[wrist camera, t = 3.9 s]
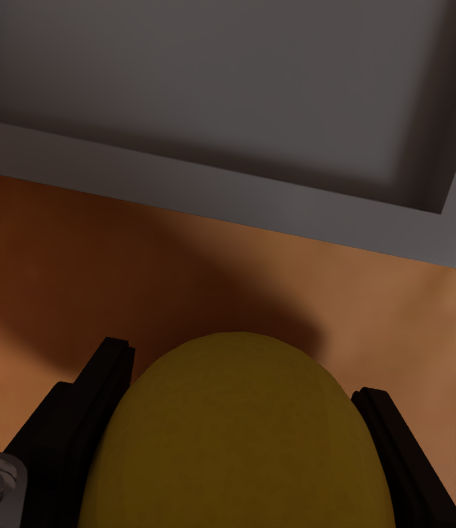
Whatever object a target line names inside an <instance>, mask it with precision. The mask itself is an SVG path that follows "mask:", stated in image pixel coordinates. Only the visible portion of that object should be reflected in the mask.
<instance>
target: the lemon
mask: <svg viewBox="0 0 456 528" xmlns="http://www.w3.org/2000/svg"><path fill="white" fill-rule="evenodd" d="M77 528H396V527H395V519H394V511H393V506H392V501H391V496H390V492H389V488H388V484H387V481H386V477H385V474H384V471H383V468H382V465H381V463H380V460H379V457H378V454H377V451H376V448H375V445H374V443H373V440H372V437H371V435H370V432H369V430H368V428H367V426H366V424H365V422H364V420H363V418H362V416H361V415H360V413H359V411H358V410H357V408H356V407H355V405H354V404H353V403H352V401H351V400H350V399H349V397H348V396H347V394H346V393H345V392H344V390H343V389H342V388H341V386H340V385H339V383H338V382H337V381H336V380H335V378H334V377H333V376H332V375H331V374H330V373H329V372H328V371H327V370H326V369H324V368H323V367H322V366H321V365H319V364H318V363H317V362H316V361H314V360H313V359H312V358H311V357H309V356H308V355H307V354H305V353H304V352H303V351H302V350H300V349H298V348H296V347H293V346H291V345H289V344H287V343H284V342H282V341H280V340H278V339H276V338H273V337H271V336H266V335H261V334H255V333H250V332H245V331H240V332H219V333H213V334H210V335H206V336H203V337H199V338H196V339H192V340H190V341H187V342H185V343H183V344H182V345H180V346H178V347H176V348H175V349H173V350H171V351H169V352H168V353H166V354H164V355H162V356H161V357H160V358H158V359H157V360H156V361H155V362H154V363H153V364H152V365H151V366H150V367H149V368H148V369H147V370H146V371H145V372H144V373H143V374H142V375H141V376H140V377H139V378H138V379H137V380H136V381H135V382H134V383H133V384H132V385H131V386H130V387H129V389H128V390H127V391H126V393H125V394H124V396H123V397H122V399H121V400H120V402H119V404H118V405H117V407H116V409H115V411H114V413H113V415H112V416H111V418H110V420H109V422H108V424H107V425H106V427H105V429H104V431H103V433H102V435H101V437H100V439H99V441H98V444H97V446H96V449H95V451H94V454H93V457H92V460H91V464H90V467H89V471H88V475H87V480H86V485H85V489H84V494H83V499H82V504H81V509H80V514H79V518H78V525H77Z"/></svg>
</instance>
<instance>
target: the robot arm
mask: <svg viewBox="0 0 456 528" xmlns="http://www.w3.org/2000/svg"><path fill="white" fill-rule="evenodd" d="M128 346H129V342H128V341H127V340H122V339H116V338H111V337H106V338H105V339H104V341H103V342H102V343H101V345H100V346H99V348H98V349H97V350H96V352H95V353H94V355H93V356H92V358H91V359H90V360H89V362H88V363H87V365H86V366H85V368H84V369H83V370H82V372H81V373H80V375H79V376H78V378H77V379H76V380H75V382H74V383H67V382H62V381H60V382H57V383H56V384H55V385H54V387H53V388H52V389H51V391H50V392H49V393H48V394H47V396H46V397H45V398H44V400H43V401H42V402H41V404H40V405H39V406H38V407H37V409H36V410H35V411H34V413H33V414H32V415H31V416H30V418H29V419H28V420H27V422H26V423H25V424H24V425H23V427H22V428H21V429H20V431H19V432H18V433H17V434H16V436H15V437H14V438H13V440H12V441H11V442H10V443H9V445H8V446H7V447H6V449H5V450H4V451H3V452H0V528H77V525H78V518H79V514H80V509H81V504H82V499H83V494H84V489H85V485H86V480H87V475H88V471H89V467H90V464H91V460H92V457H93V454H94V451H95V449H96V446H97V444H98V441H99V439H100V437H101V435H102V433H103V431H104V429H105V427H106V425H107V424H108V422H109V420H110V418H111V416H112V415H113V413H114V411H115V409H116V407H117V405H118V404H119V402H120V400H121V399H122V397H123V396H124V394H125V393H126V391H127V390H128V389H129V387H130V382H131V375H132V369H133V362H134V356H135V348H133V347H128ZM351 401H352V403H353V404H354V405H355V407H356V408H357V410H358V411H359V413H360V415H361V416H362V418H363V420H364V422H365V424H366V426H367V428H368V430H369V432H370V435H371V437H372V440H373V443H374V445H375V448H376V451H377V454H378V457H379V460H380V463H381V465H382V468H383V471H384V474H385V477H386V481H387V484H388V488H389V492H390V496H391V501H392V506H393V511H394V519H395V527H396V528H456V506H455V504H454V502H453V501H452V499H451V497H450V496H449V494H448V492H447V491H446V489H445V487H444V486H443V484H442V482H441V481H440V479H439V477H438V476H437V474H436V472H435V471H434V469H433V467H432V466H431V464H430V462H429V461H428V459H427V457H426V456H425V454H424V452H423V451H422V449H421V447H420V446H419V444H418V442H417V441H416V439H415V437H414V436H413V434H412V432H411V431H410V429H409V427H408V426H407V424H406V422H405V421H404V419H403V417H402V416H401V414H400V412H399V411H398V409H397V407H396V406H395V404H394V402H393V401H392V399H391V397H390V396H389V394H388V393H387V392H386V391H383V390H378V389H373V388H368V387H363V388H362V389H361V390H360V392H359V391H355V392H354V393H353V395H352V398H351Z"/></svg>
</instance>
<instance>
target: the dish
mask: <svg viewBox="0 0 456 528" xmlns="http://www.w3.org/2000/svg"><path fill="white" fill-rule="evenodd" d="M0 175H2V176H7V177H12V178H17V179H22V180H27V181H32V182H37V183H41V184H46V185H51V186H56V187H61V188H66V189H71V190H76V191H81V192H85V193H90V194H95V195H100V196H105V197H110V198H115V199H120V200H125V201H129V202H134V203H139V204H144V205H149V206H154V207H159V208H164V209H169V210H173V211H178V212H183V213H188V214H193V215H198V216H203V217H208V218H213V219H217V220H222V221H227V222H232V223H237V224H242V225H247V226H252V227H257V228H261V229H266V230H271V231H276V232H281V233H286V234H291V235H296V236H301V237H305V238H310V239H315V240H320V241H325V242H330V243H335V244H340V245H345V246H349V247H354V248H359V249H364V250H369V251H374V252H379V253H384V254H389V255H393V256H398V257H403V258H408V259H413V260H418V261H423V262H428V263H433V264H437V265H442V266H447V267H452V268H456V0H0Z"/></svg>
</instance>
